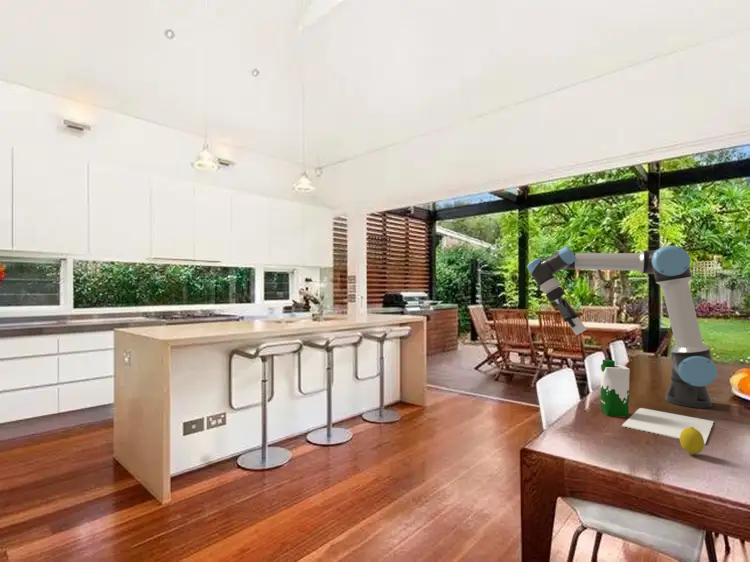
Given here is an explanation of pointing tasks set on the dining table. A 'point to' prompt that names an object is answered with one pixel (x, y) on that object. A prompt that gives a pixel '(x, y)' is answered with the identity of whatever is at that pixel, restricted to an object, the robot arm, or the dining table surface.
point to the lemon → (691, 440)
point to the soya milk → (614, 389)
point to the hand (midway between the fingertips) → (581, 332)
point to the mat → (667, 423)
